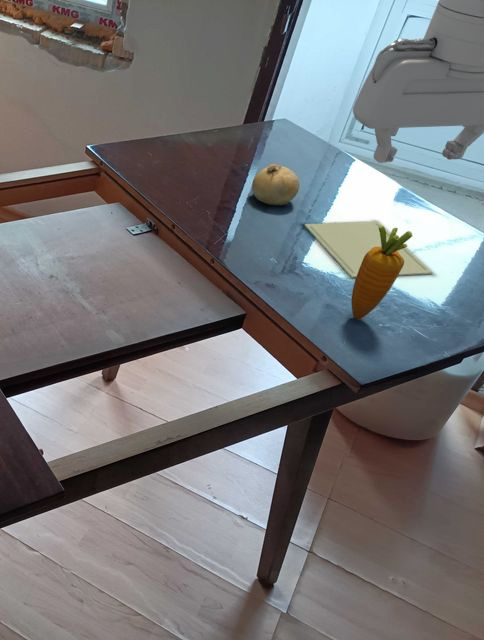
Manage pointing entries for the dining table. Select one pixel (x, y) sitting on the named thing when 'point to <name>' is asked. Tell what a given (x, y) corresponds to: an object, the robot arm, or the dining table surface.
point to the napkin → (359, 245)
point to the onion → (275, 185)
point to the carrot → (378, 272)
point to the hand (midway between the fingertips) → (416, 159)
